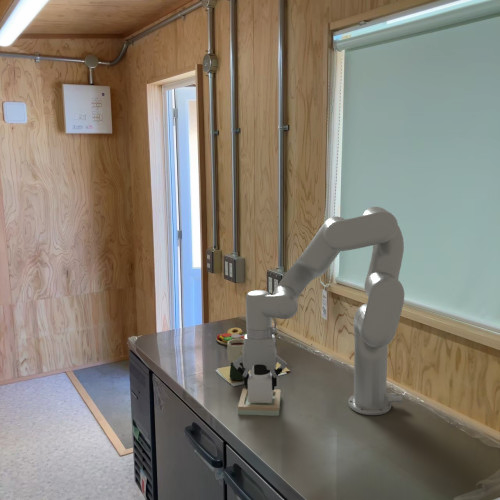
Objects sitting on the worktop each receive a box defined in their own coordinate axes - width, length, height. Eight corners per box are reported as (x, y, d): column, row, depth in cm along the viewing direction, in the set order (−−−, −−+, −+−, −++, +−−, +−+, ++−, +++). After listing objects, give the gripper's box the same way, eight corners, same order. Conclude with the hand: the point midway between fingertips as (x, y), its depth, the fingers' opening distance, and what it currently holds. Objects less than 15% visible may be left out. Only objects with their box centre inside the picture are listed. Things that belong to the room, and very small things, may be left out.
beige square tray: (280, 396, 166) (280, 389, 165) (278, 415, 154) (278, 407, 153) (242, 395, 167) (242, 388, 166) (238, 414, 155) (238, 406, 155)
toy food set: (237, 333, 225) (237, 325, 224) (255, 341, 214) (255, 334, 214) (210, 339, 218) (210, 332, 217) (227, 349, 207) (227, 341, 206)
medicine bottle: (273, 392, 163) (272, 356, 161) (272, 403, 156) (271, 365, 154) (250, 392, 164) (249, 356, 162) (248, 403, 157) (246, 365, 155)
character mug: (255, 382, 177) (254, 345, 174) (235, 386, 174) (234, 349, 171) (241, 370, 186) (240, 335, 184) (223, 374, 183) (221, 338, 181)
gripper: (289, 328, 159) (289, 383, 162) (231, 327, 161) (233, 382, 164) (288, 337, 151) (288, 394, 155) (228, 336, 153) (230, 392, 157)
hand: (260, 387), depth 159 cm, fingers closed on medicine bottle, 7 cm apart
